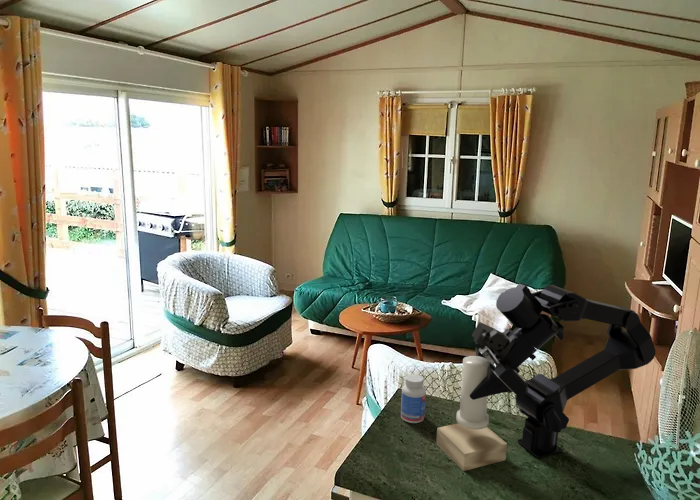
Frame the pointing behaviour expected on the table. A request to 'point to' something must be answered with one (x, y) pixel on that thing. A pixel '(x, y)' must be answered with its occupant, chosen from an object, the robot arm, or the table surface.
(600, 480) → the table surface
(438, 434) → the oak box
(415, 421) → the pill bottle
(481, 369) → the white flanged cylinder
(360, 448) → the table surface
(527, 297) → the robot arm
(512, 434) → the table surface
